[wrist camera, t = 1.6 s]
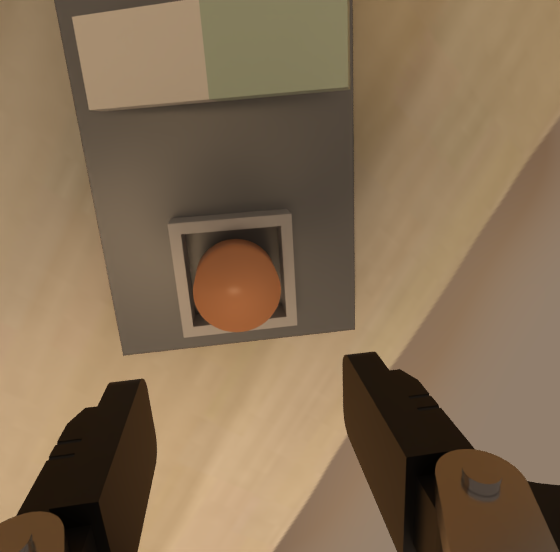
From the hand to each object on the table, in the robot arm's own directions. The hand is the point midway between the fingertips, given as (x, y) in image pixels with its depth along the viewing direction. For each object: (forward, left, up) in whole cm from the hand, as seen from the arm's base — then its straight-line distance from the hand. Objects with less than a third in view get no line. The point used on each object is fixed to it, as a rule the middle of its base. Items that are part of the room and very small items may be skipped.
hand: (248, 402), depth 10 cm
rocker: (0, +9, -9) cm, 13 cm away
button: (0, 0, -10) cm, 10 cm away
